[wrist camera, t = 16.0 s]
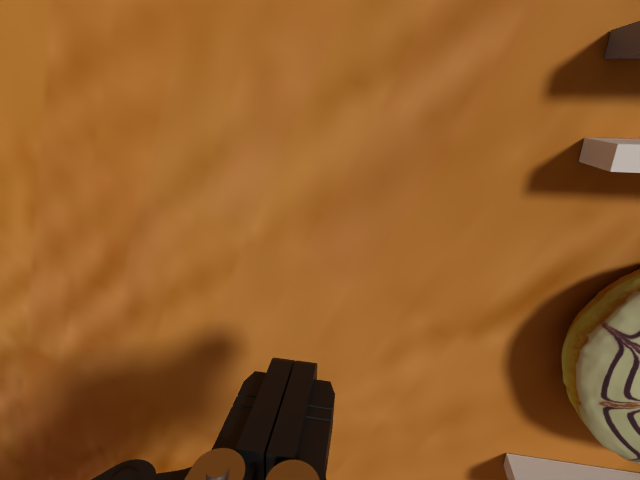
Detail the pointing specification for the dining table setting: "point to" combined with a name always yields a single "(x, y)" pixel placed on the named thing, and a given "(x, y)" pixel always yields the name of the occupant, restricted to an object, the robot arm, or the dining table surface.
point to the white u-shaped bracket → (555, 476)
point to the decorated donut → (607, 366)
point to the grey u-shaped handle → (624, 42)
